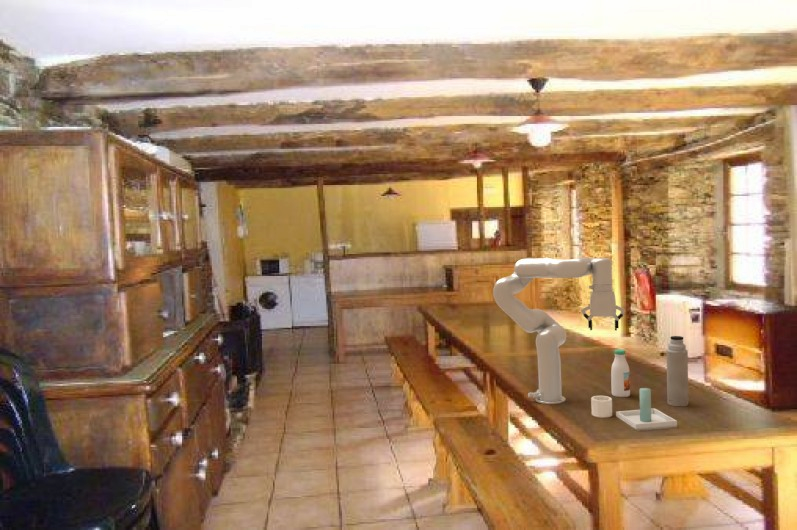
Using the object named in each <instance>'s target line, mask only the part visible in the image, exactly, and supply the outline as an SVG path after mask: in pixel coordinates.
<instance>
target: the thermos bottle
mask: <svg viewBox="0 0 797 530" xmlns="http://www.w3.org/2000/svg"><path fill="white" fill-rule="evenodd" d="M688 359H689V356H688V350H687V346H686V344H685V343H684V336H681V335H673V336H670V343H669V344H668V345H667V349H666V393H667V394H666V395H667V397H666V398H667V402H666V403H667V404H668V405H670V406H673V407H686V406H689V361H688Z"/></svg>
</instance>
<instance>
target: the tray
mask: <svg viewBox="0 0 797 530" xmlns="http://www.w3.org/2000/svg"><path fill="white" fill-rule="evenodd" d="M615 417H616V418H618V419H620V420H621V421H623V422H624V423H625V424H627V425H628V426H630V427H631V428H632V429H633V430H636V431H635V432H638V431H637V430H642V431H650V430H651V431H653V429H654V430H662V429H673V428H678V421H677V420H676V419H675V418H673V417H671V416H669V415H667V414H665V412H662V411H660V410H659V409H657V408H651V422H642V421H640V409H632V410H630V409H629V410H622V411H621V410H619V411H615Z"/></svg>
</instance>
